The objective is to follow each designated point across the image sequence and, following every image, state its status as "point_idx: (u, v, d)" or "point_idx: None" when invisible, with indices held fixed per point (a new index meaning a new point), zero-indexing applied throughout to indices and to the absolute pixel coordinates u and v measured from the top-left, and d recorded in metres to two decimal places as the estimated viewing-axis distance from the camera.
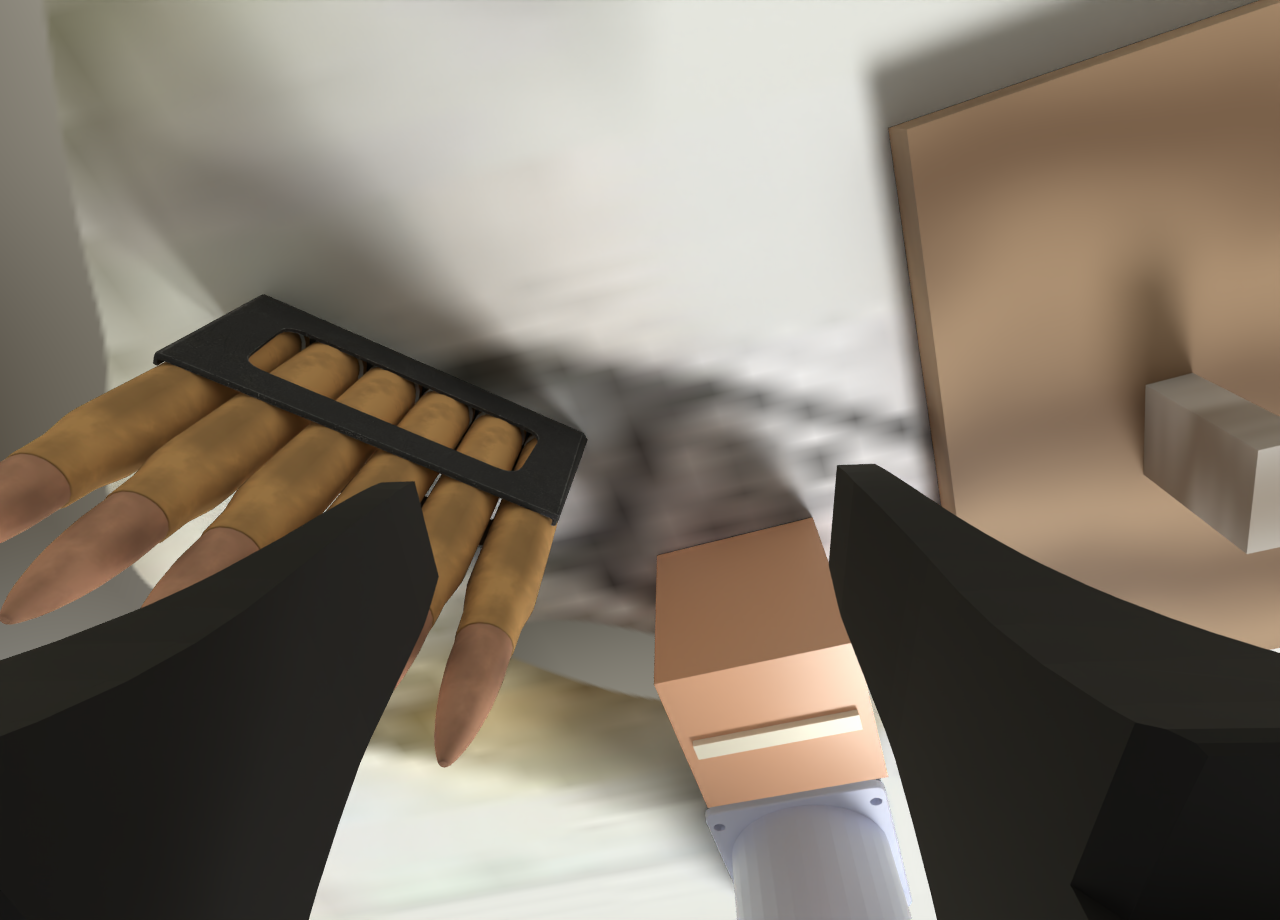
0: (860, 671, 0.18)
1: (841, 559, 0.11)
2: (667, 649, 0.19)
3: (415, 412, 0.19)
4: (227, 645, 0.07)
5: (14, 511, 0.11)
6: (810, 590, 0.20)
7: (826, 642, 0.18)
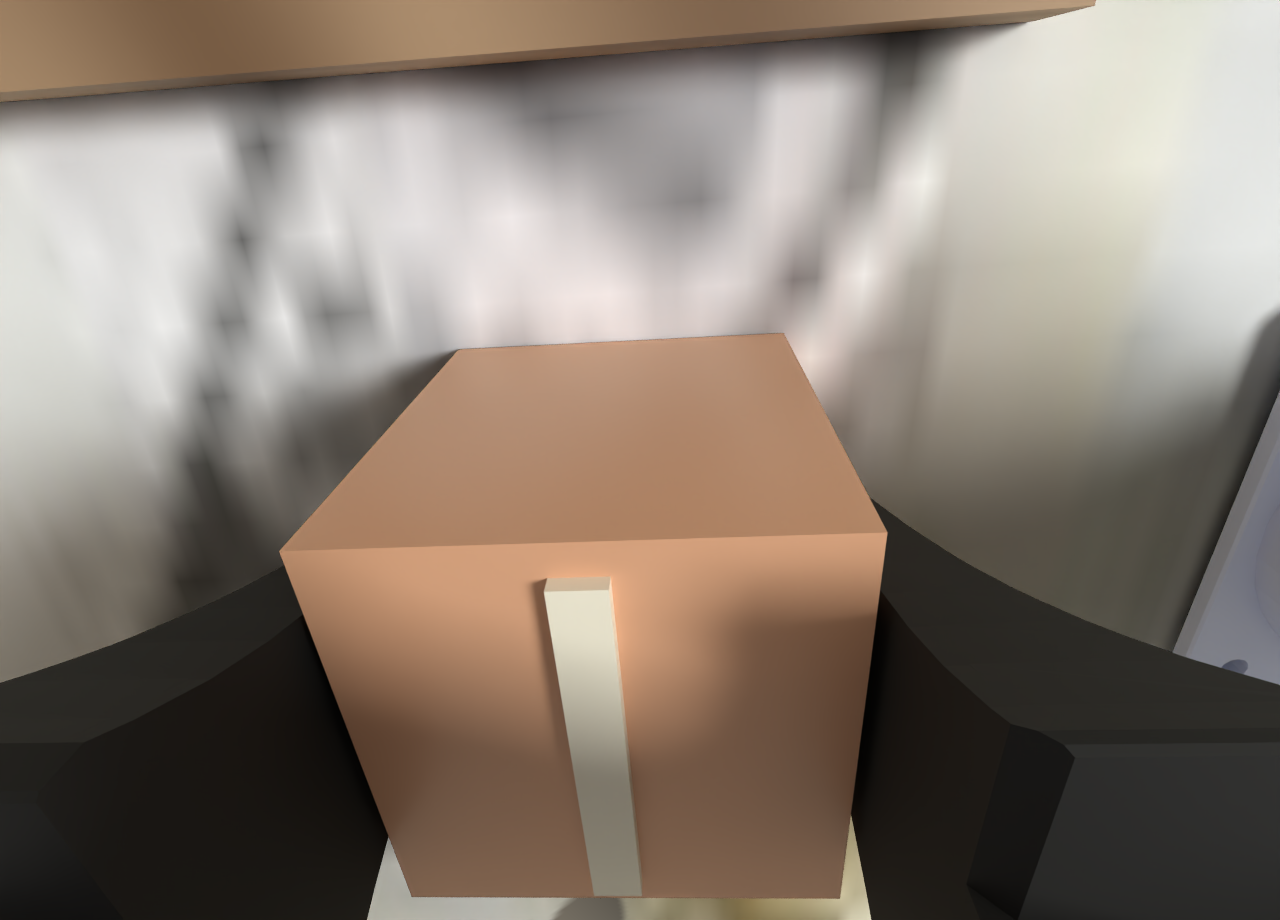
0: (394, 554, 0.06)
1: None
2: None
3: None
4: (295, 644, 0.07)
5: None
6: None
7: None
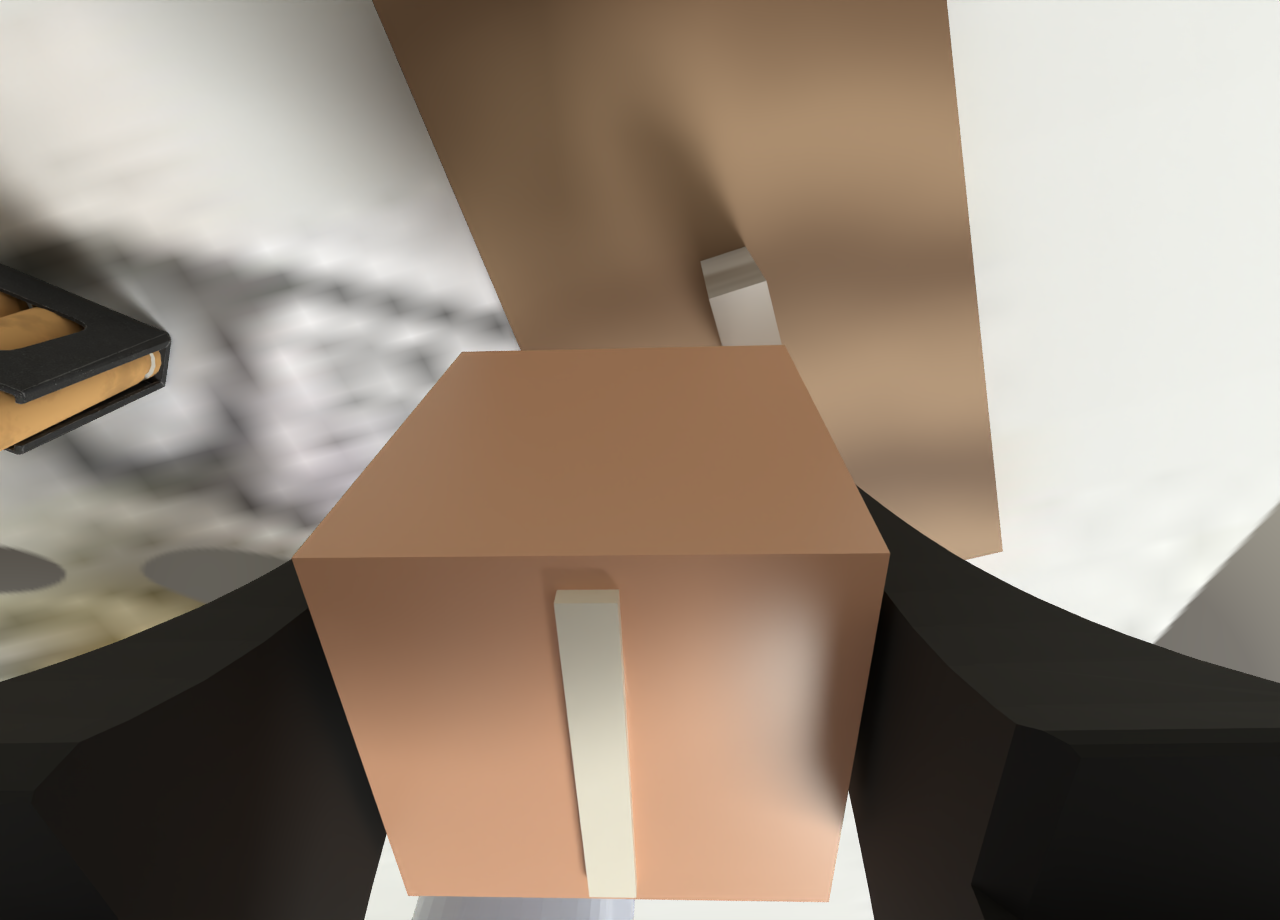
0: (406, 563, 0.06)
1: None
2: None
3: None
4: (292, 644, 0.07)
5: None
6: None
7: None
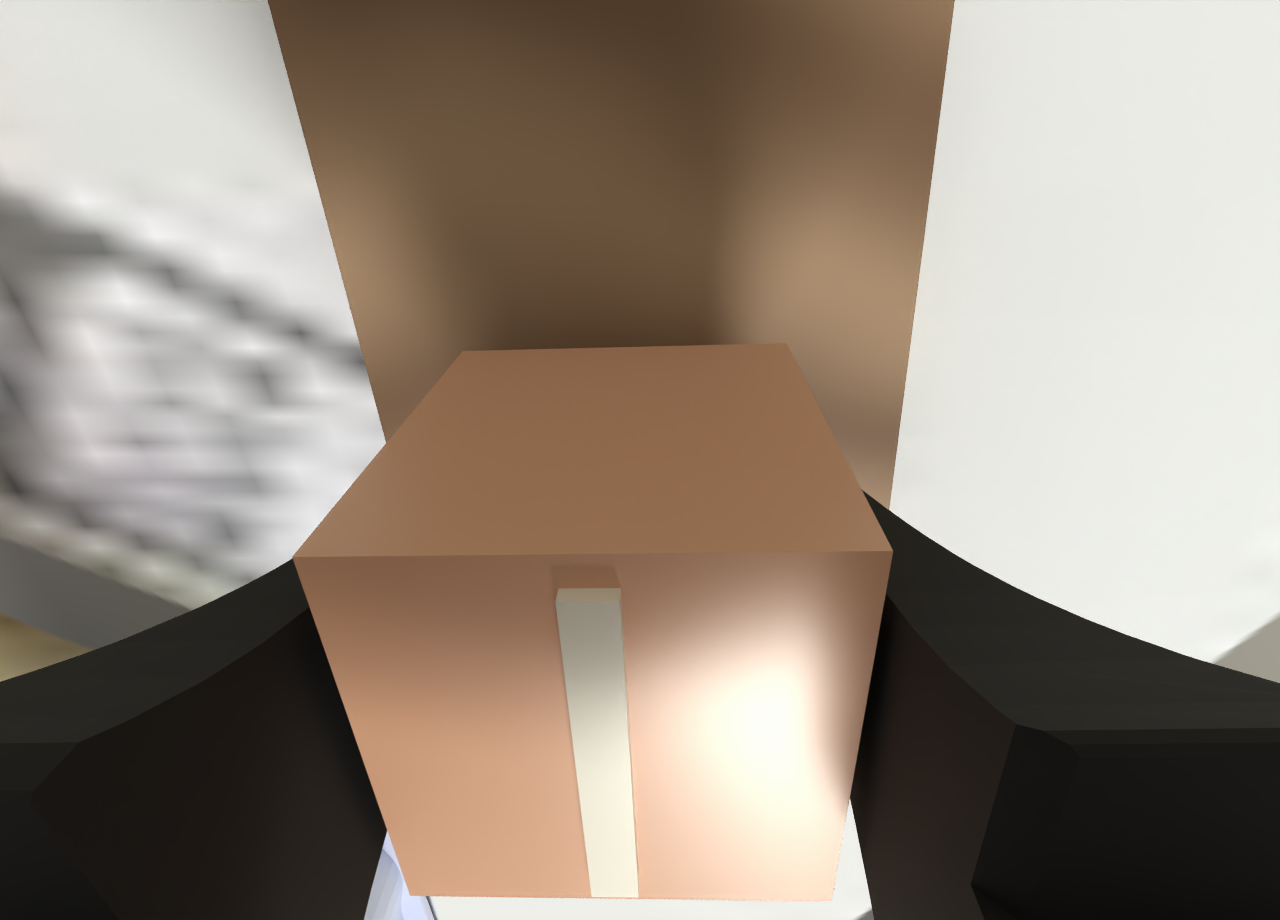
0: (407, 562, 0.06)
1: None
2: None
3: None
4: (292, 643, 0.07)
5: None
6: None
7: None
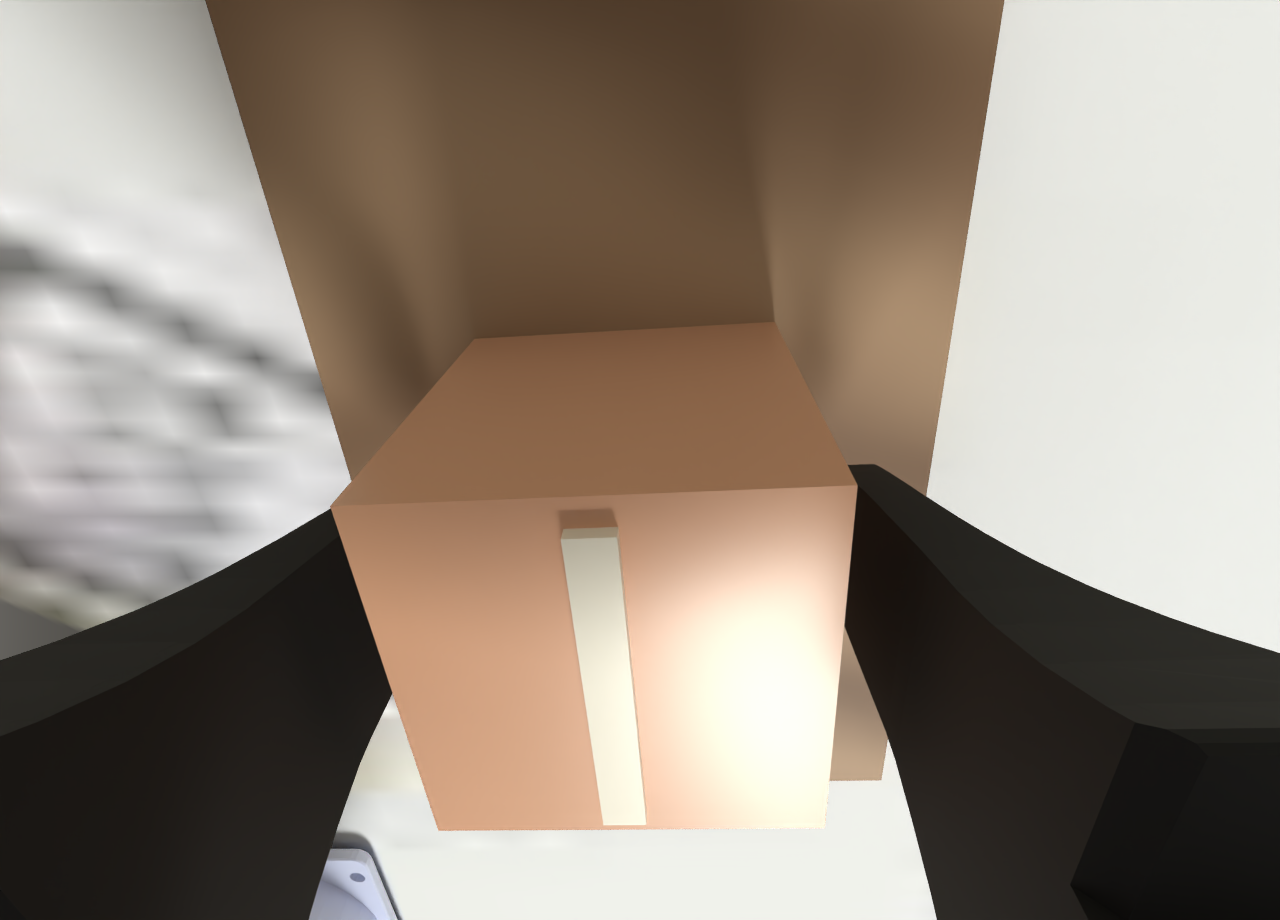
0: (429, 508, 0.07)
1: None
2: None
3: None
4: (227, 645, 0.07)
5: None
6: None
7: None
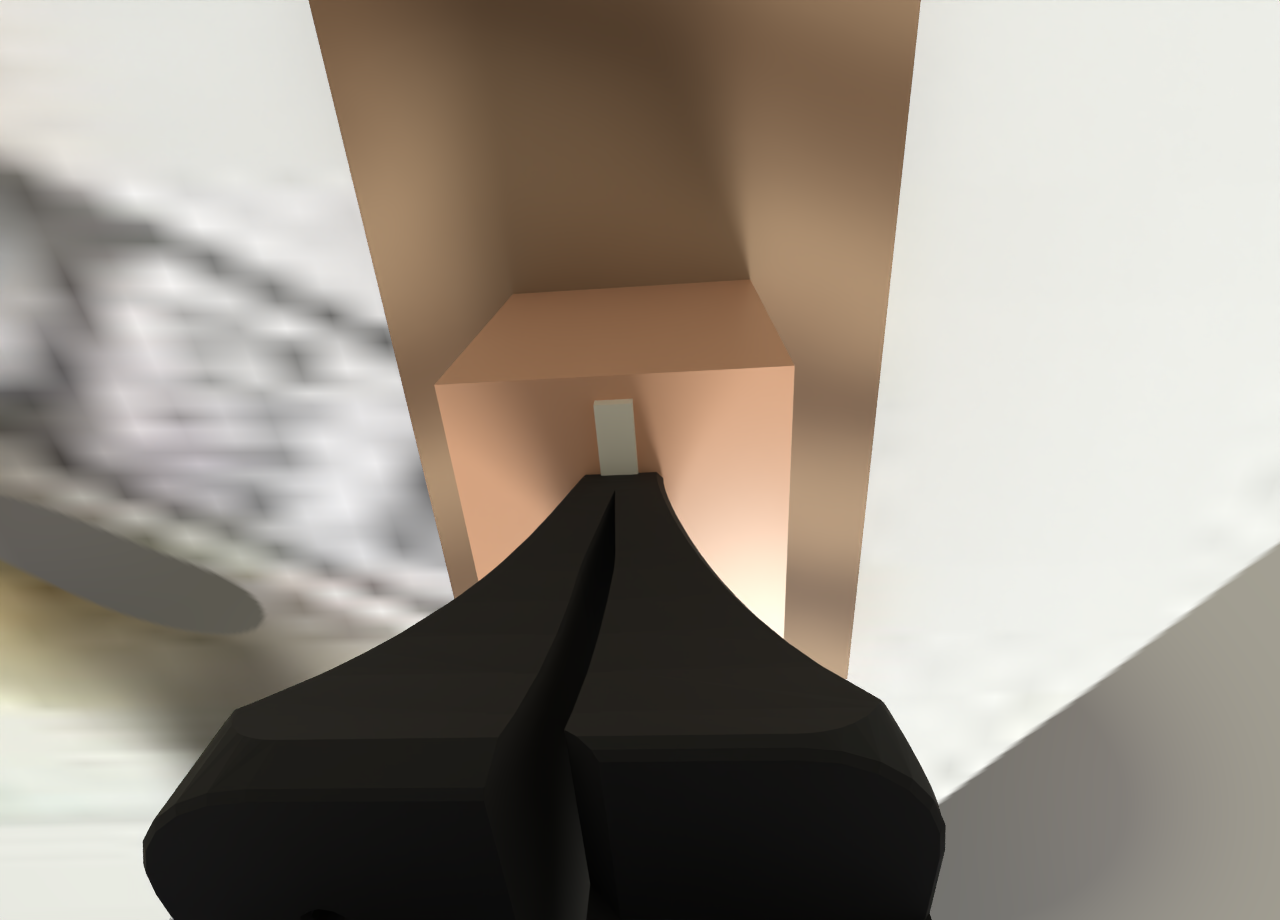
0: (503, 385, 0.10)
1: None
2: None
3: None
4: (565, 638, 0.07)
5: None
6: None
7: None
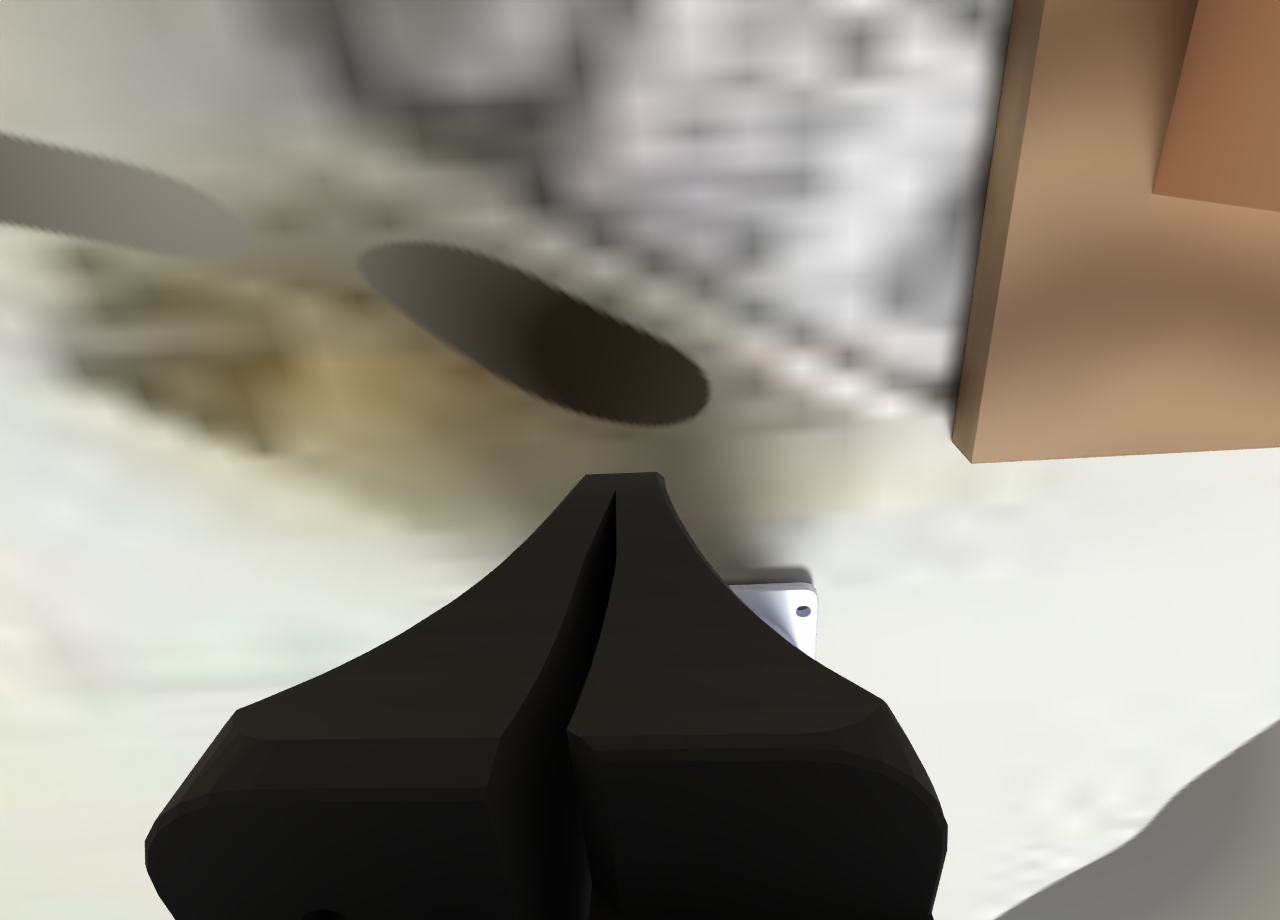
0: None
1: None
2: None
3: None
4: (566, 638, 0.07)
5: None
6: None
7: None
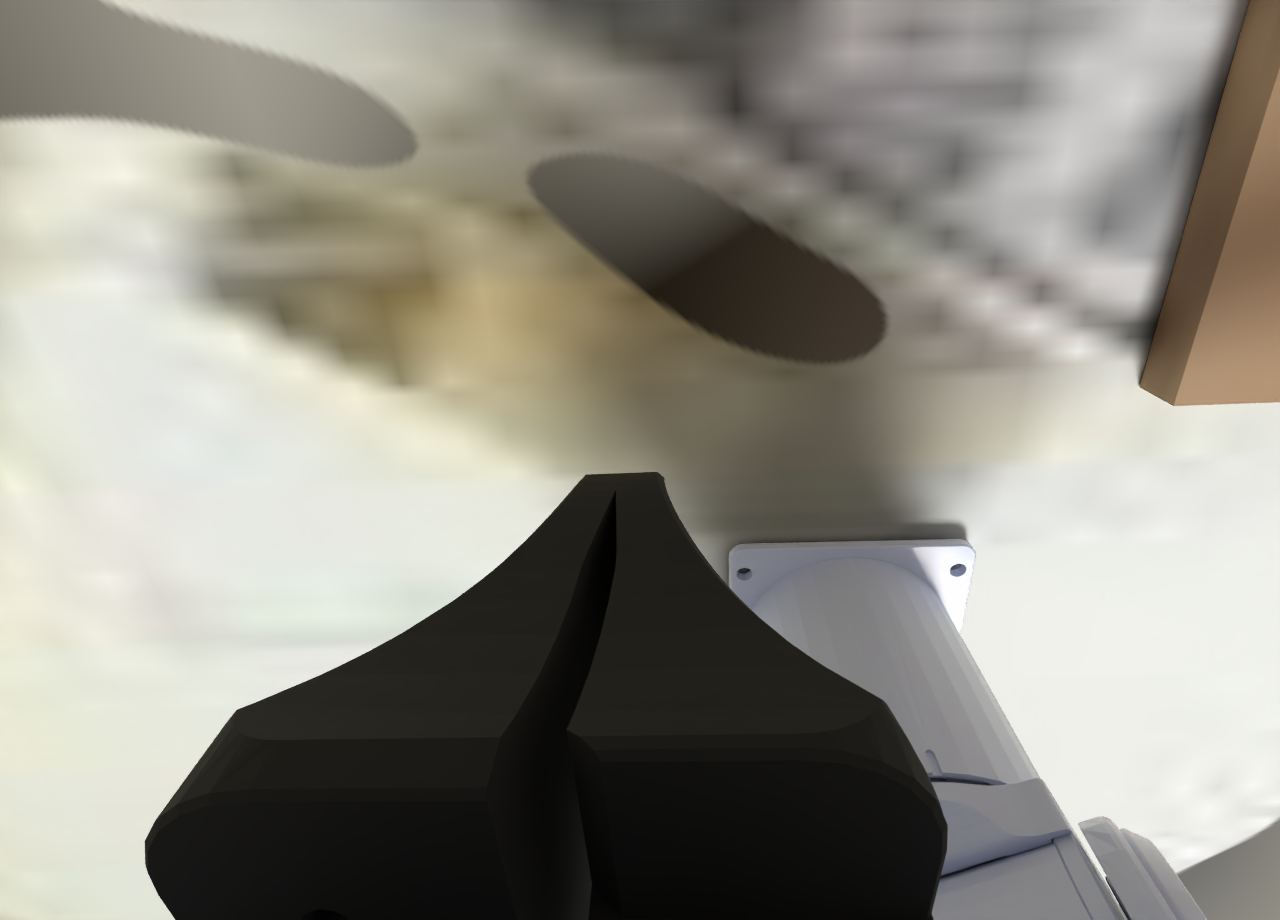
0: None
1: None
2: None
3: None
4: (566, 638, 0.07)
5: None
6: None
7: None
